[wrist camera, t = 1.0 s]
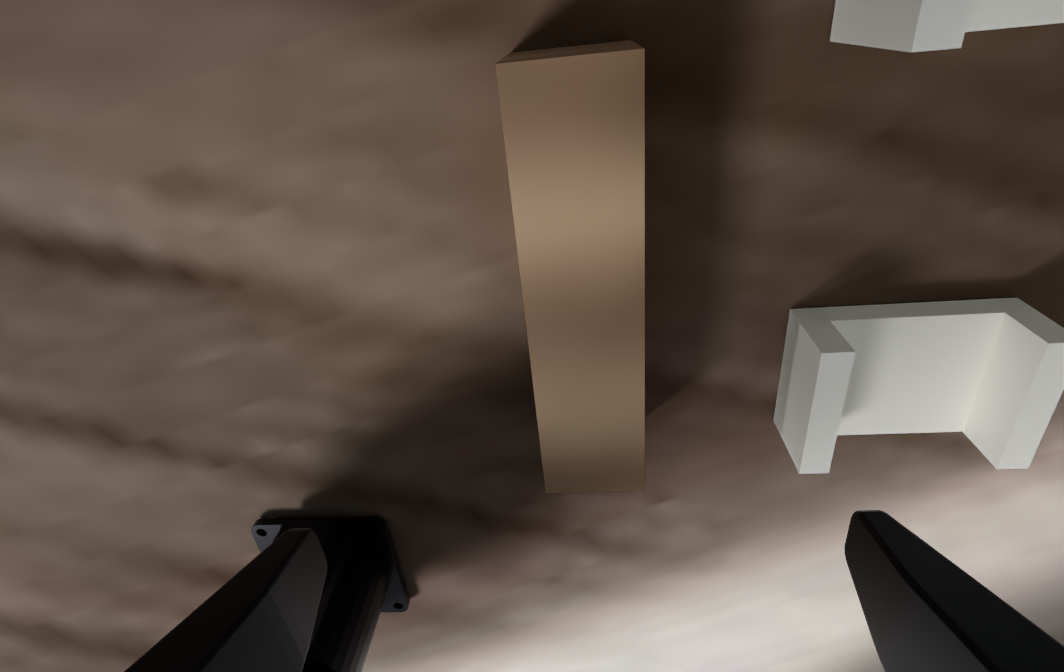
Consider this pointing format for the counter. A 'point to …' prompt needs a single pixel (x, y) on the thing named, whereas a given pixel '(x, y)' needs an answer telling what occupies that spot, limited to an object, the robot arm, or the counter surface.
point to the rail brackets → (922, 310)
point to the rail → (581, 254)
